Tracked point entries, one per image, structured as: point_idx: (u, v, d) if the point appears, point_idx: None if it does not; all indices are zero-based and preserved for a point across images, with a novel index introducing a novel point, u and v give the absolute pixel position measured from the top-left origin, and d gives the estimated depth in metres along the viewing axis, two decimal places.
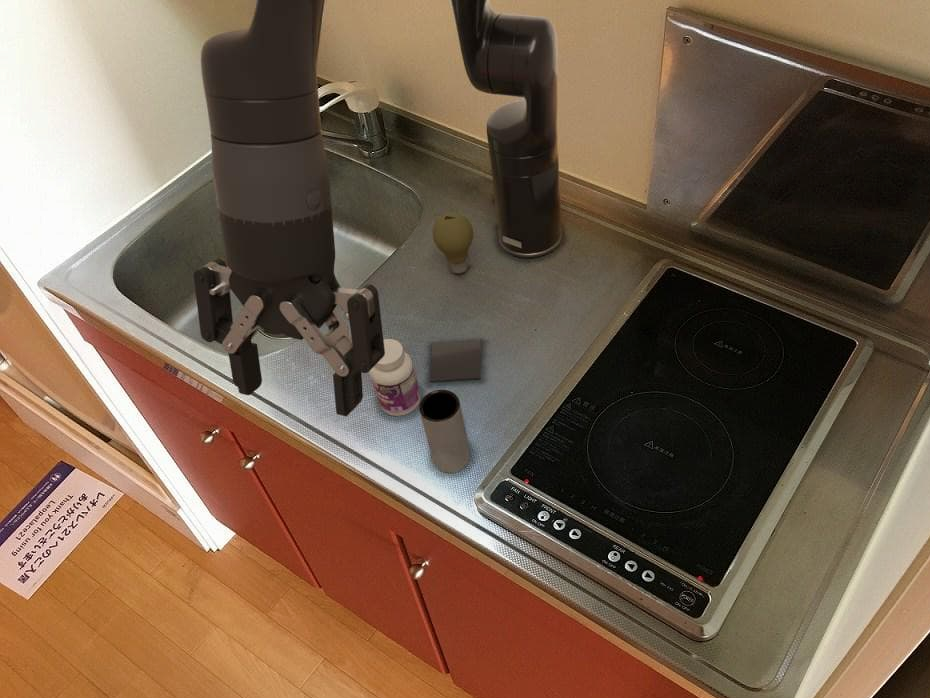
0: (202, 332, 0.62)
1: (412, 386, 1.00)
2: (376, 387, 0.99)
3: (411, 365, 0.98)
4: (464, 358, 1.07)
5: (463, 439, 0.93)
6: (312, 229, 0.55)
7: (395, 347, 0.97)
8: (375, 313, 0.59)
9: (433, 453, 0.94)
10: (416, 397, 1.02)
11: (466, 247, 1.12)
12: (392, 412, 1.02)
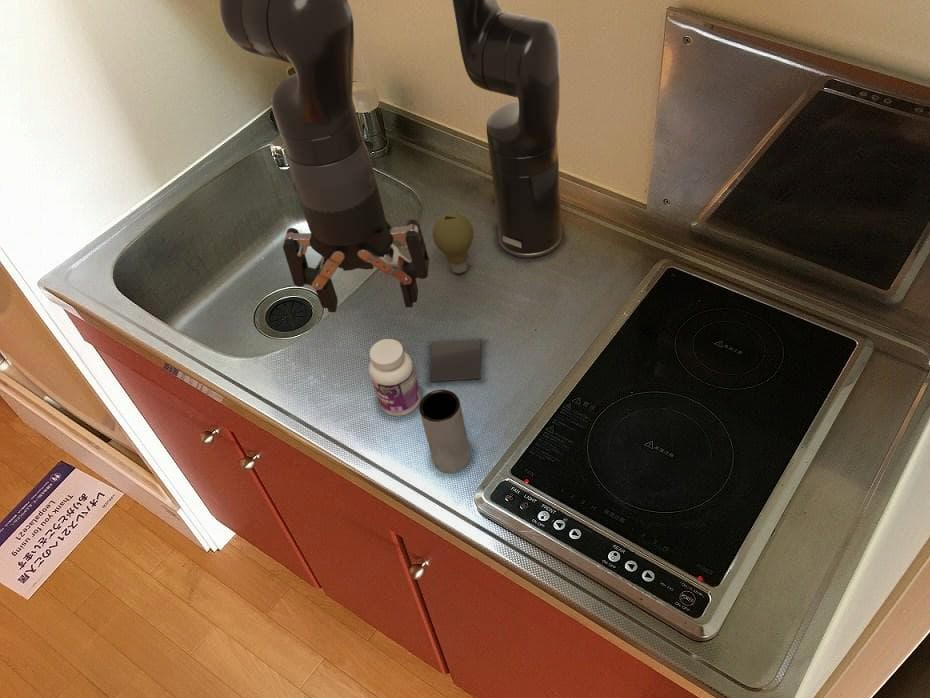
0: (294, 281, 0.86)
1: (412, 386, 1.00)
2: (376, 387, 0.99)
3: (411, 365, 0.98)
4: (464, 358, 1.07)
5: (463, 439, 0.93)
6: (373, 200, 0.78)
7: (395, 347, 0.97)
8: (421, 237, 0.84)
9: (433, 453, 0.94)
10: (416, 397, 1.02)
11: (466, 247, 1.12)
12: (392, 412, 1.02)
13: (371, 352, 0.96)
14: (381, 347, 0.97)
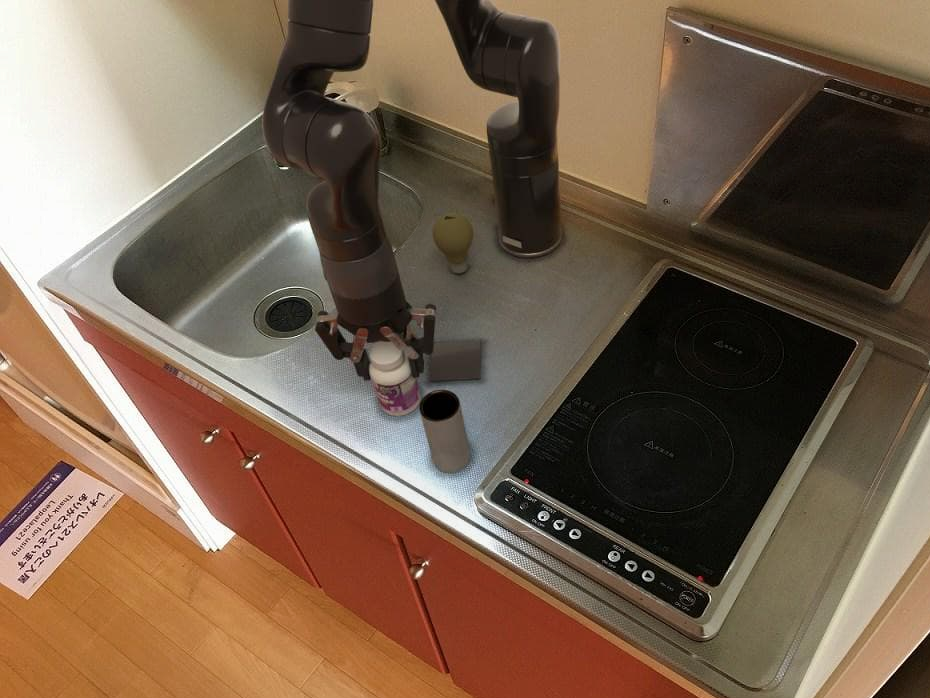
0: (335, 356, 0.95)
1: (412, 386, 1.00)
2: (376, 387, 0.99)
3: None
4: (464, 358, 1.07)
5: (463, 439, 0.93)
6: (395, 286, 0.87)
7: (395, 347, 0.97)
8: None
9: (433, 453, 0.94)
10: (416, 397, 1.02)
11: (466, 247, 1.12)
12: (392, 412, 1.02)
13: (371, 352, 0.96)
14: (381, 347, 0.97)
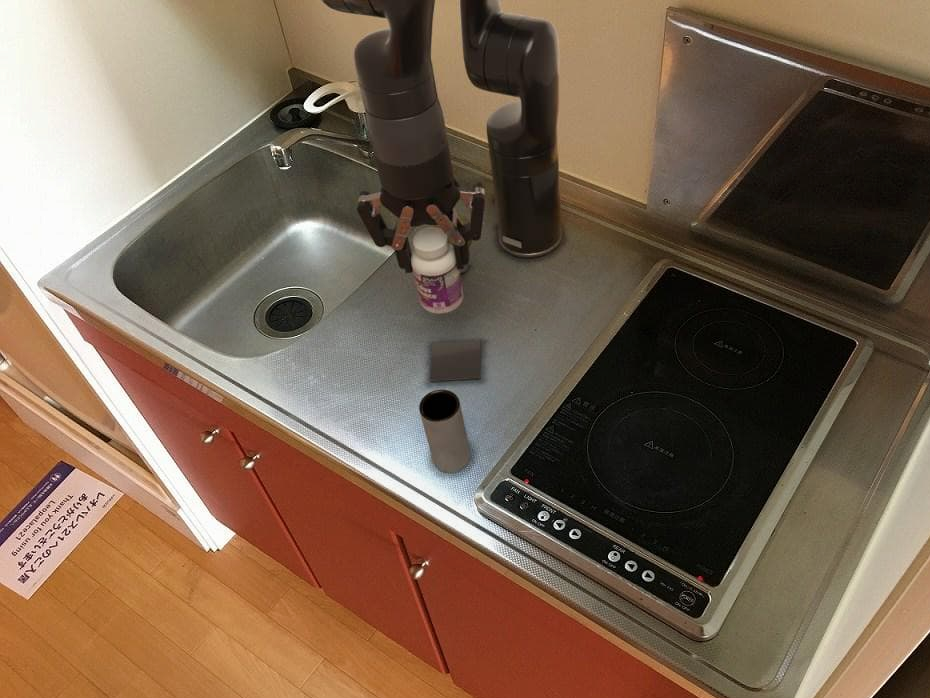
0: (376, 243, 0.90)
1: (456, 280, 0.94)
2: (418, 279, 0.93)
3: None
4: (464, 358, 1.07)
5: (463, 439, 0.93)
6: (445, 155, 0.81)
7: (439, 234, 0.91)
8: None
9: (433, 453, 0.94)
10: (460, 293, 0.96)
11: None
12: (434, 309, 0.96)
13: (414, 240, 0.91)
14: (424, 235, 0.91)
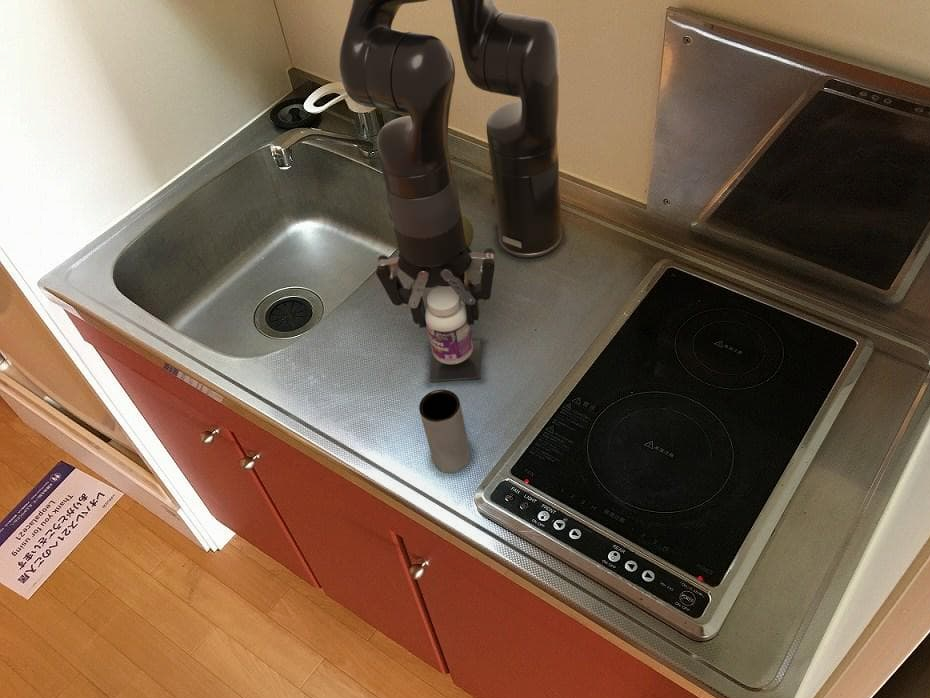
0: (393, 301, 0.97)
1: (466, 334, 1.01)
2: (432, 334, 1.00)
3: None
4: None
5: (463, 439, 0.93)
6: (459, 227, 0.88)
7: (452, 293, 0.98)
8: None
9: (433, 453, 0.94)
10: (470, 345, 1.03)
11: None
12: (446, 360, 1.03)
13: (428, 298, 0.98)
14: (438, 294, 0.98)
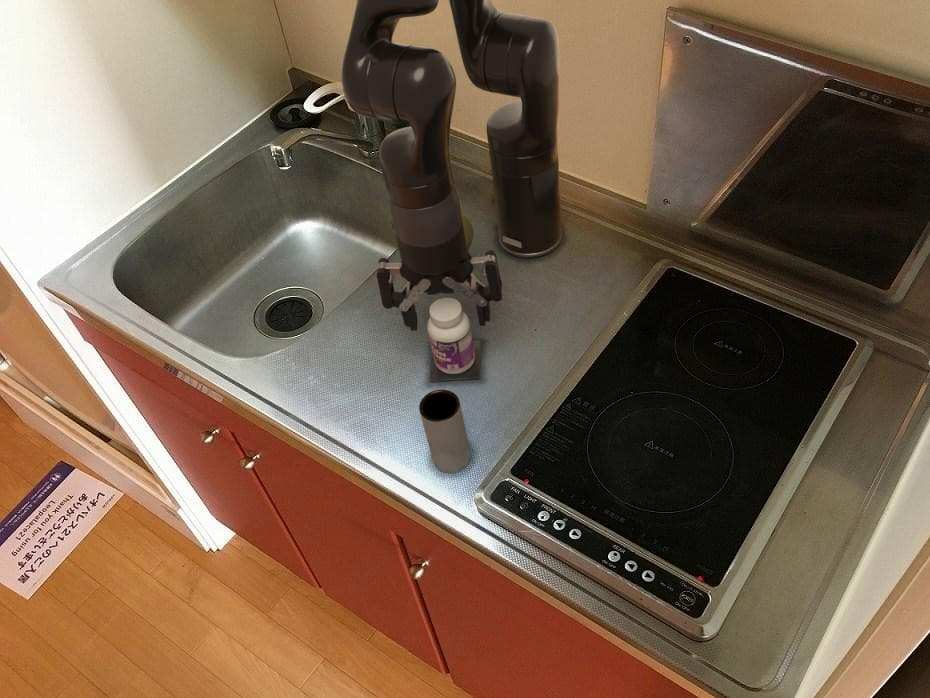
0: (384, 304, 0.97)
1: (468, 344, 1.03)
2: (434, 345, 1.02)
3: (468, 323, 1.01)
4: None
5: (463, 439, 0.93)
6: (460, 236, 0.89)
7: (454, 305, 1.00)
8: (497, 266, 0.95)
9: (433, 453, 0.94)
10: (472, 355, 1.05)
11: None
12: (448, 370, 1.05)
13: (431, 310, 1.00)
14: (440, 305, 1.00)
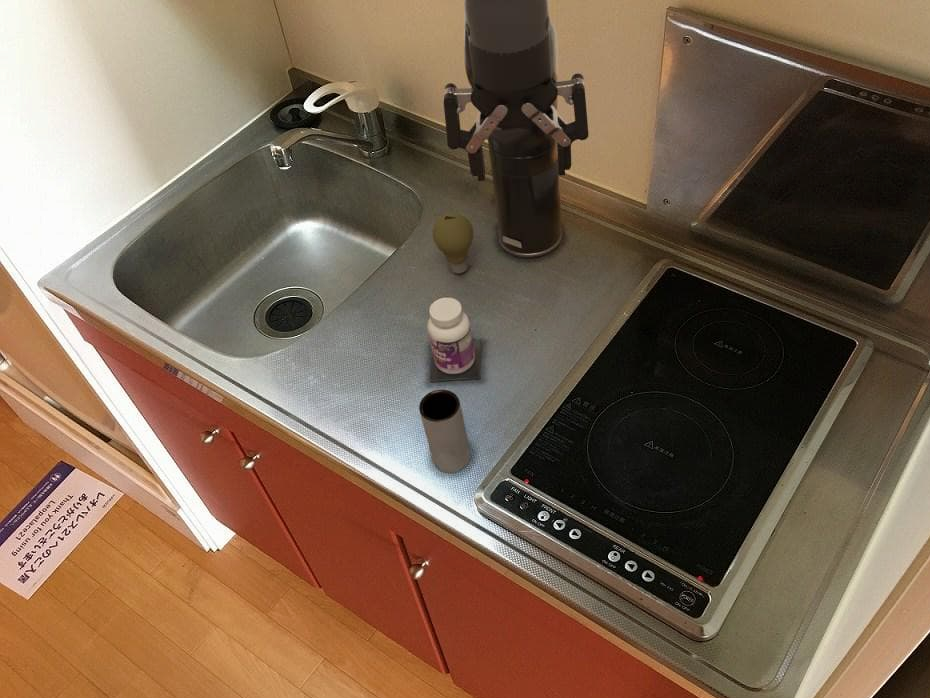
0: (449, 143, 0.83)
1: (468, 344, 1.03)
2: (434, 345, 1.02)
3: (468, 323, 1.01)
4: None
5: (463, 439, 0.93)
6: (547, 44, 0.75)
7: (454, 305, 1.00)
8: None
9: (433, 453, 0.94)
10: (472, 355, 1.05)
11: (466, 247, 1.12)
12: (448, 370, 1.05)
13: (431, 310, 1.00)
14: (440, 305, 1.00)
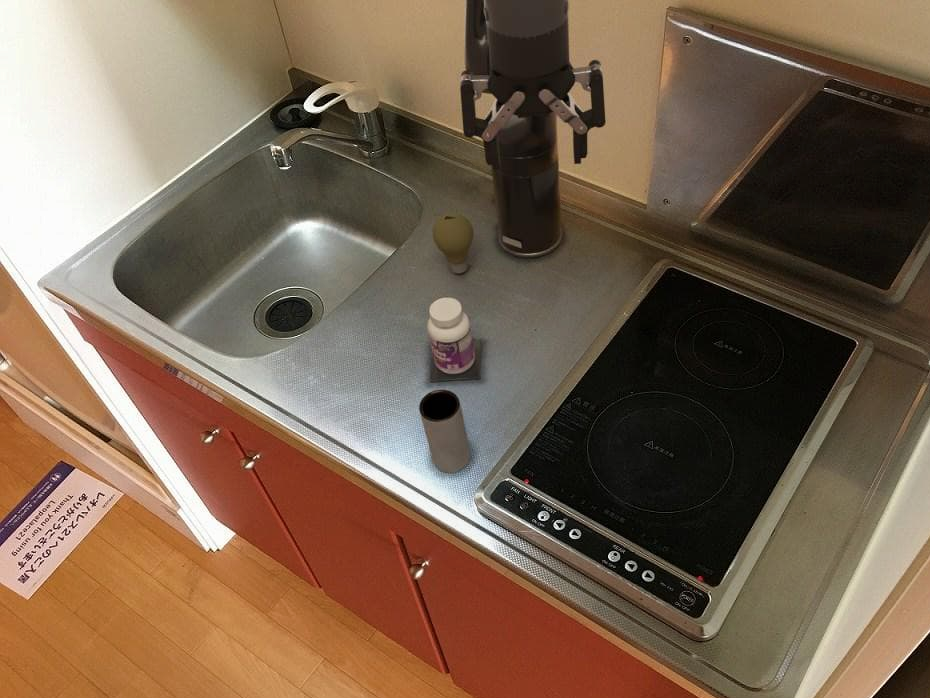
0: (465, 131, 0.82)
1: (468, 344, 1.03)
2: (434, 345, 1.02)
3: (468, 323, 1.01)
4: None
5: (463, 439, 0.93)
6: (566, 29, 0.74)
7: (454, 305, 1.00)
8: None
9: (433, 453, 0.94)
10: (472, 355, 1.05)
11: (466, 247, 1.12)
12: (448, 370, 1.05)
13: (431, 310, 1.00)
14: (440, 305, 1.00)
